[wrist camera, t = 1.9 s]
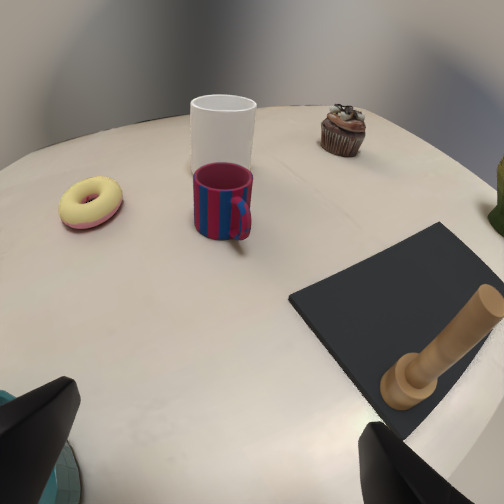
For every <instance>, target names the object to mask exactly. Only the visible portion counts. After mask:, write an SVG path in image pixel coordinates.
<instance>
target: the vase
mask: <svg viewBox="0 0 504 504" xmlns="http://www.w3.org/2000/svg"><path fill="white" fill-rule="evenodd" d="M488 219H489V221H490V223H491V225H492V226H493V227H494V228H495V229H496V231H497V232H498V233H500V234H501V235H502V236H503V237H504V156H503V158H502V160H501V161H500V163H499V165H498V167H497V206H496V207H495V208H494V209H493V210H492V211H491V212H490V214H489V215H488Z"/></svg>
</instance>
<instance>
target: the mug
mask: <svg viewBox="0 0 504 504" xmlns="http://www.w3.org/2000/svg"><path fill="white" fill-rule="evenodd" d="M255 115H256V103H255V102H254V101H253V100H251V99H248V98H244V97H240V96H234V95H207V96H201V97H198V98H195V99H193V100H192V101H191V113H190V160H191V170H192V173H193V174H194V172H195V171H196V170H197V169H198V168H200V167H201V166H204V165H206V164H210V163H216V162H228V163H234V164H238V165H241V166H243V167H245V168H246V169H248V170H249V169H250V162H251V153H252V143H253V134H254V124H255Z"/></svg>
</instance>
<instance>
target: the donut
mask: <svg viewBox="0 0 504 504" xmlns="http://www.w3.org/2000/svg"><path fill="white" fill-rule="evenodd" d="M92 199H95V200H93V201H91V202H89V203H85V202H87V201H89V200H92ZM121 201H122V190H121V187H120V186H119V184H118V183H117V182H116V181H115V180H113V179H111V178H108V177H103V176H98V177H91V178H87V179H84V180H82V181H80V182H78V183H76V184H74V185H73V186H72V187H70V188H69V189H68V190H67V191H66V192H65V193H64V195H63V196H62V198H61V200H60V203H59V215H60V218H61V220H62V221H63V222H64V223H65V224H66V225H68V226H69V227H72V228H76V229H86V228H91V227H94V226H97V225H99V224H101V223H103V222H105V221H106V220H108V219H109V218H110V217H111V216H113V215H114V213H115V212H116V211H117V210H118V208H119V206H120V204H121ZM84 203H85V204H84Z"/></svg>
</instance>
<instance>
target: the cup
mask: <svg viewBox="0 0 504 504" xmlns="http://www.w3.org/2000/svg"><path fill="white" fill-rule="evenodd" d="M252 183H253V175H252V173H251V172H250V171H249V170H248V169H246V168H245V167H243V166H241V165H238V164H234V163H228V162H216V163H210V164H206V165H204V166H201V167H200V168H198V169H197V170H196V171H195V172H194V175H193V190H194V223H195V227H196V229H197V230H198V231H199V232H200V233H201V234H202V235H204V236H206V237H208V238H212V239H217V240H227V239H232V238H234V239H236V240H243V239H246V238H247V237H248V236H249V234H250V230H251V213H250V201H251V192H252Z"/></svg>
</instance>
